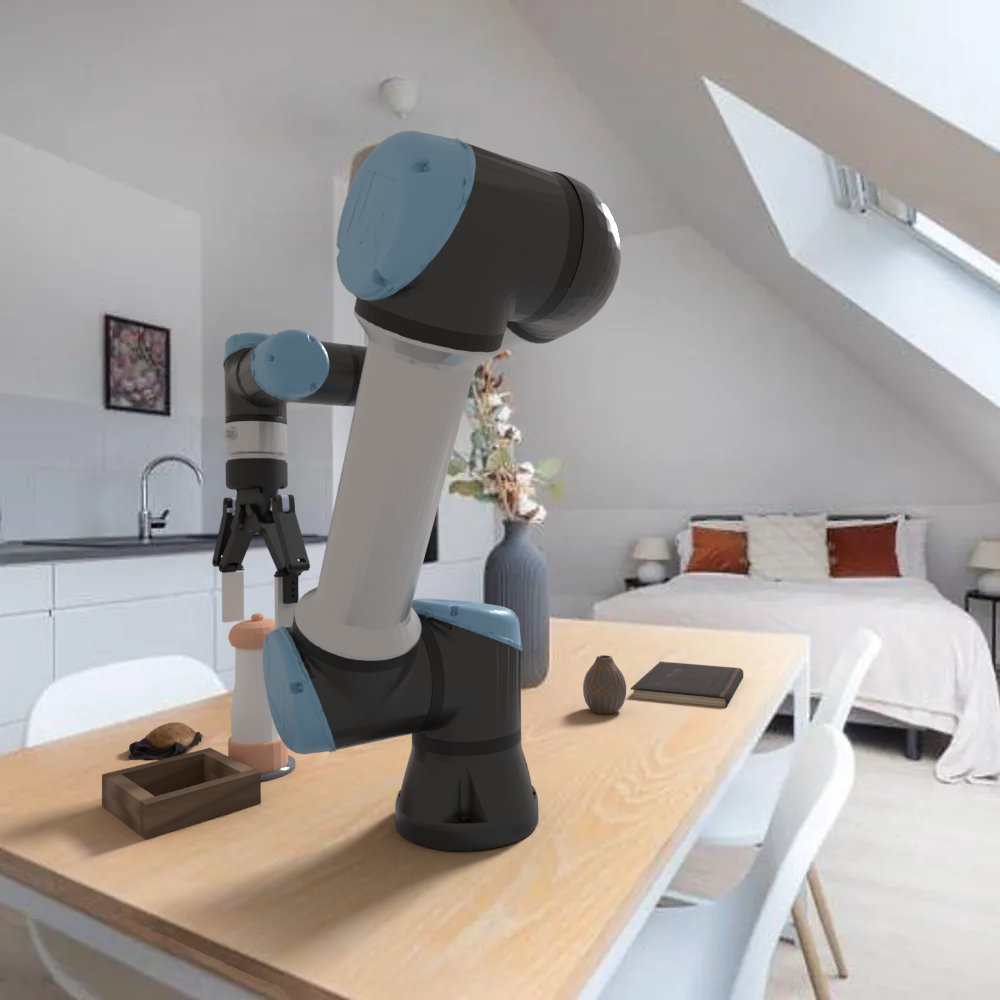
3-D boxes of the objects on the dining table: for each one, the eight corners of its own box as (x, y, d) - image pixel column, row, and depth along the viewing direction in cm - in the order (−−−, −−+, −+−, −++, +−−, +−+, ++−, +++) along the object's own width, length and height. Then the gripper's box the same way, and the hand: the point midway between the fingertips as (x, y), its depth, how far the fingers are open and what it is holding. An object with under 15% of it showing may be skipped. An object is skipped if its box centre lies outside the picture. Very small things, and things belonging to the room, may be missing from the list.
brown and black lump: (151, 740, 110) (150, 715, 110) (210, 739, 110) (209, 713, 110) (117, 765, 99) (117, 737, 99) (182, 763, 99) (182, 735, 99)
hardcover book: (630, 700, 129) (630, 687, 129) (660, 672, 150) (659, 661, 150) (727, 711, 123) (726, 696, 123) (743, 680, 144) (743, 668, 144)
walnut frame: (260, 803, 84) (260, 772, 84) (146, 839, 75) (145, 804, 75) (210, 775, 93) (210, 747, 93) (101, 805, 84) (101, 774, 84)
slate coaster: (308, 768, 95) (308, 763, 95) (242, 788, 89) (242, 783, 89) (272, 752, 102) (272, 748, 102) (207, 770, 95) (207, 765, 95)
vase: (634, 710, 121) (634, 656, 121) (610, 719, 116) (609, 663, 116) (599, 703, 126) (599, 650, 126) (574, 711, 121) (574, 657, 121)
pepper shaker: (223, 777, 91) (222, 618, 91) (232, 757, 98) (231, 610, 98) (285, 772, 92) (284, 616, 93) (290, 753, 100) (289, 608, 100)
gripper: (185, 463, 101) (186, 620, 101) (281, 449, 84) (283, 639, 84) (237, 465, 107) (239, 614, 106) (337, 452, 90) (340, 631, 89)
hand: (258, 626), depth 95 cm, fingers open, 13 cm apart
